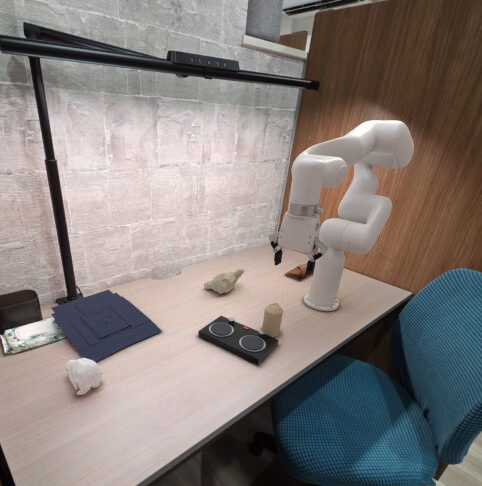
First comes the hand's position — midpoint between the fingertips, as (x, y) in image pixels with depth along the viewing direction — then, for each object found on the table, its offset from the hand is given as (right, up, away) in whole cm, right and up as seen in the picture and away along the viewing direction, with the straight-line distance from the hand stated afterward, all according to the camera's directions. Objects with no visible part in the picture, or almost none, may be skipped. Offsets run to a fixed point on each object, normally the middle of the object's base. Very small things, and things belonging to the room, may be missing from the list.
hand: (292, 268), depth 92 cm
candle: (-5, -20, +8) cm, 22 cm away
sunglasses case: (+19, +3, +51) cm, 55 cm away
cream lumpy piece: (-17, -5, +35) cm, 39 cm away
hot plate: (-16, -22, +4) cm, 27 cm away
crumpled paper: (-56, -30, -14) cm, 65 cm away
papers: (-58, -18, +8) cm, 61 cm away
